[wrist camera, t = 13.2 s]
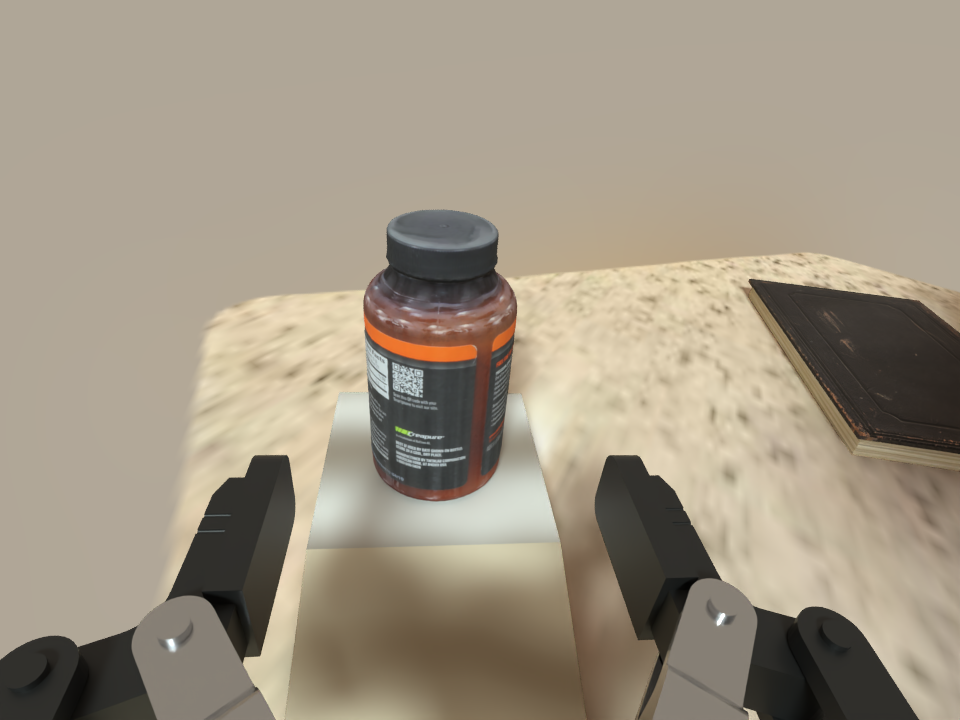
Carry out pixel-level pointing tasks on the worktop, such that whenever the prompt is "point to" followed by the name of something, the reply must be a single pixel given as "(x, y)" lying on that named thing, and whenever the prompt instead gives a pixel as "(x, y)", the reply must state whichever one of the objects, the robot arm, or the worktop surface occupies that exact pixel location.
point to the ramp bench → (433, 593)
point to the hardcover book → (872, 368)
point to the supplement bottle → (438, 355)
